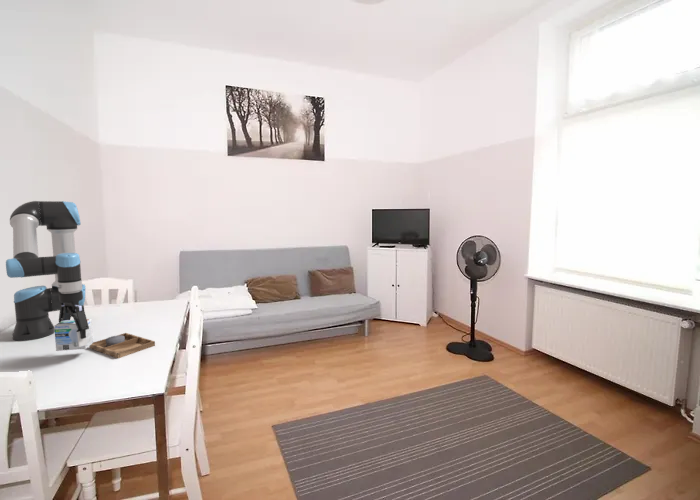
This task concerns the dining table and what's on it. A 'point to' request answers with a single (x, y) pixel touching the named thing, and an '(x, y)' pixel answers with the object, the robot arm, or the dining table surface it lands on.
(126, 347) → the wooden divided tray
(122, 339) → the grey smooth rounded part
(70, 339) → the light bulb box
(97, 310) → the dining table surface
